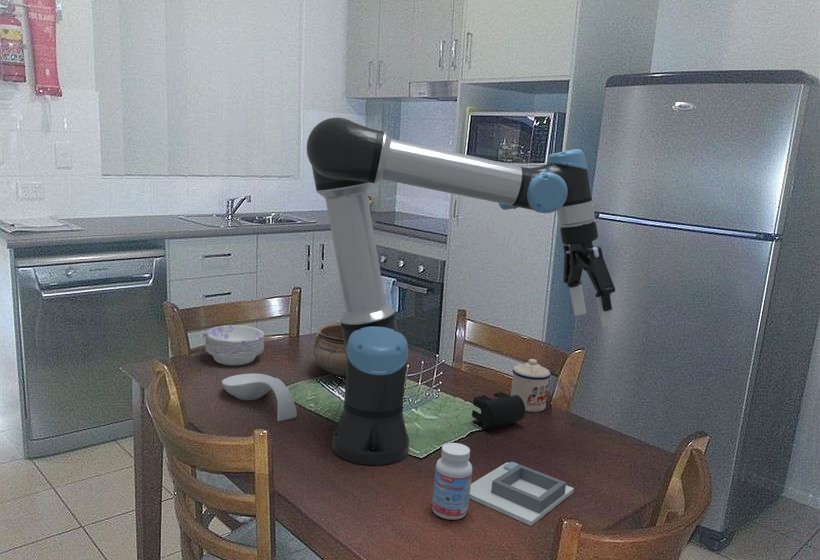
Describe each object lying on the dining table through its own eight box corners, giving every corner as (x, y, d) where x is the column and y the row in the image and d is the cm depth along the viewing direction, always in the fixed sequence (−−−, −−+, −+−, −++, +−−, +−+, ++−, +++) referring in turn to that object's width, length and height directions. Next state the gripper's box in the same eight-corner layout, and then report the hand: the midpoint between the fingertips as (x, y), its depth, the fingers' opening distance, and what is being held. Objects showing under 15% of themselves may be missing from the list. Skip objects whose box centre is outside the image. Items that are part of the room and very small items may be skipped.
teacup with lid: (529, 415, 157) (535, 368, 154) (501, 402, 164) (506, 357, 161) (561, 406, 164) (567, 361, 162) (533, 394, 171) (538, 351, 169)
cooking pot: (408, 381, 173) (411, 336, 171) (356, 397, 159) (359, 348, 157) (341, 357, 189) (344, 315, 187) (289, 370, 175) (291, 325, 173)
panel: (460, 494, 117) (461, 478, 117) (506, 465, 130) (508, 451, 129) (530, 526, 109) (532, 509, 108) (573, 492, 121) (575, 477, 121)
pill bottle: (426, 515, 110) (432, 451, 107) (438, 498, 115) (443, 437, 113) (461, 524, 107) (468, 460, 105) (472, 507, 113) (478, 445, 111)
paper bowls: (255, 371, 172) (257, 342, 171) (197, 367, 172) (197, 337, 171) (269, 354, 187) (270, 327, 186) (214, 350, 187) (215, 322, 186)
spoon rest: (212, 392, 156) (213, 363, 155) (257, 383, 164) (258, 355, 163) (265, 427, 139) (266, 394, 138) (311, 415, 147) (313, 384, 146)
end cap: (490, 435, 144) (493, 405, 142) (469, 423, 149) (472, 394, 148) (524, 427, 149) (527, 399, 148) (502, 416, 155) (505, 388, 154)
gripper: (622, 221, 130) (638, 326, 133) (569, 218, 154) (584, 306, 157) (586, 229, 128) (603, 335, 132) (539, 225, 153) (555, 314, 156)
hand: (593, 319), depth 144 cm, fingers open, 13 cm apart
